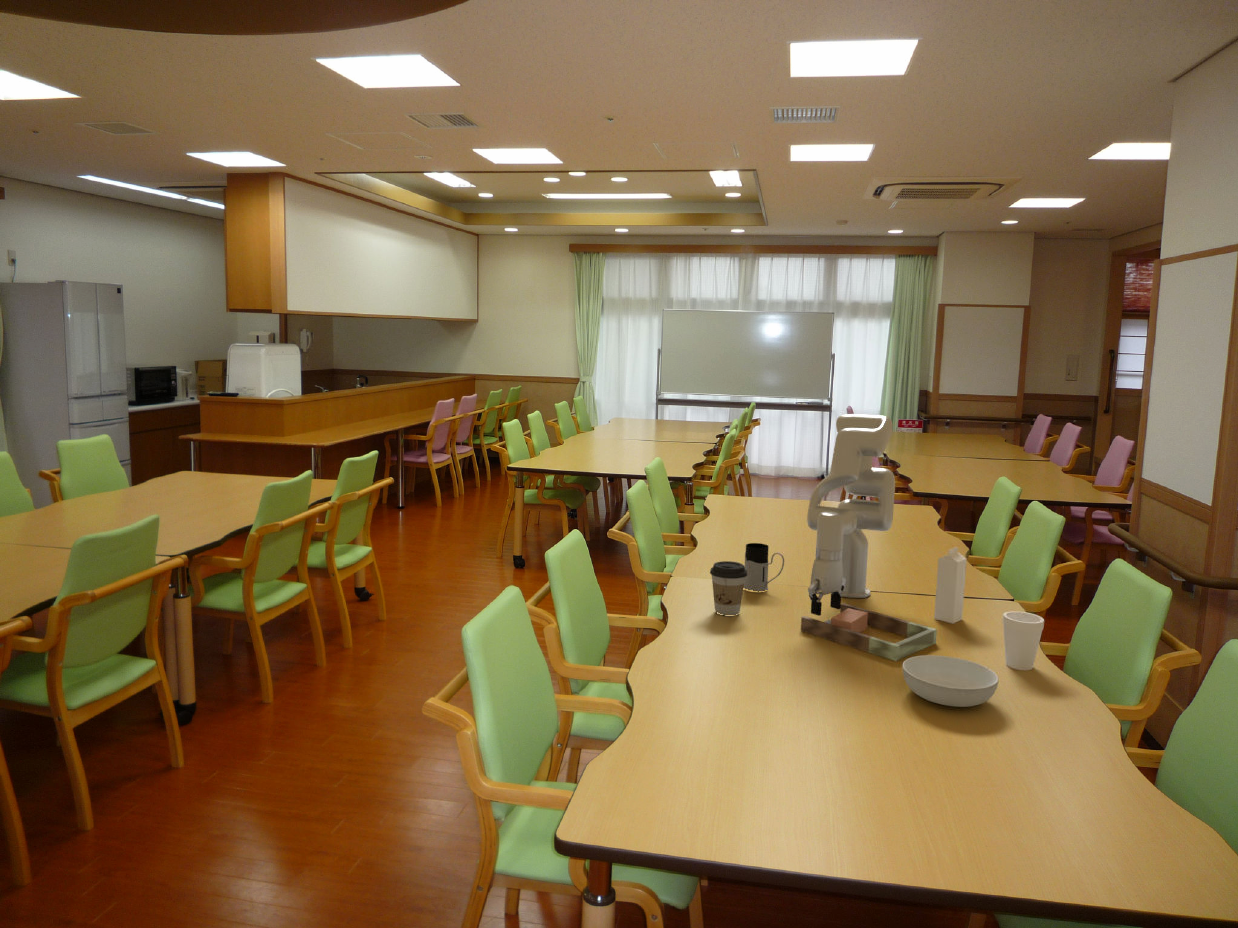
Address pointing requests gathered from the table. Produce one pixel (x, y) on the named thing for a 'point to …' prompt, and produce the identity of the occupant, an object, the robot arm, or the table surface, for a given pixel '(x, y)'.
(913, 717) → the table surface
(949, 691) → the serving bowl
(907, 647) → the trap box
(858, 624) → the terracotta block
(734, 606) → the coffee cup
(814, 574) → the robot arm
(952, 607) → the milk
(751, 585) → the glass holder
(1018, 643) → the foam cup
